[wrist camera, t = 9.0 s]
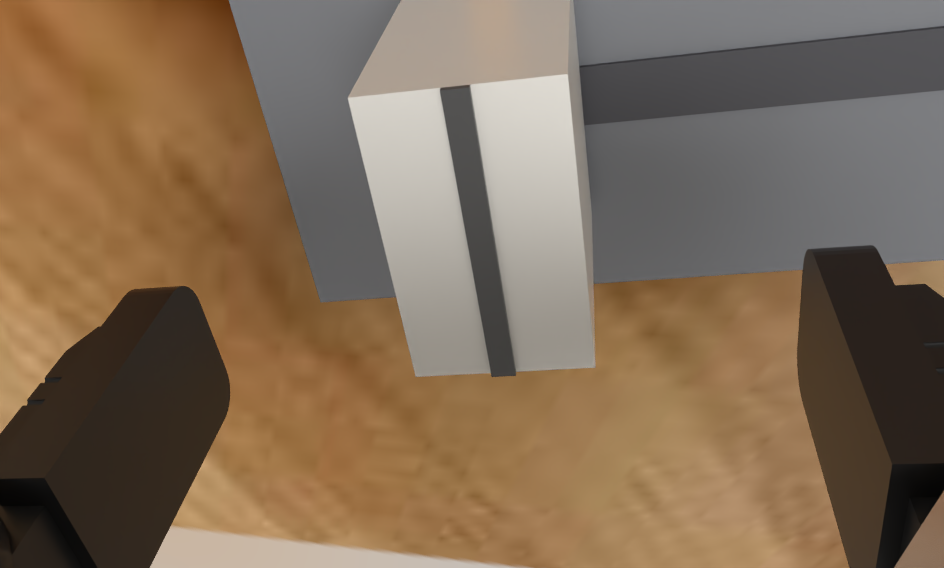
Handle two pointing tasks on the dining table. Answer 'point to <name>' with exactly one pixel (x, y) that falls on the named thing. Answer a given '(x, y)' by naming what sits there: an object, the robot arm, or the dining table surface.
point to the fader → (482, 183)
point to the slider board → (657, 132)
